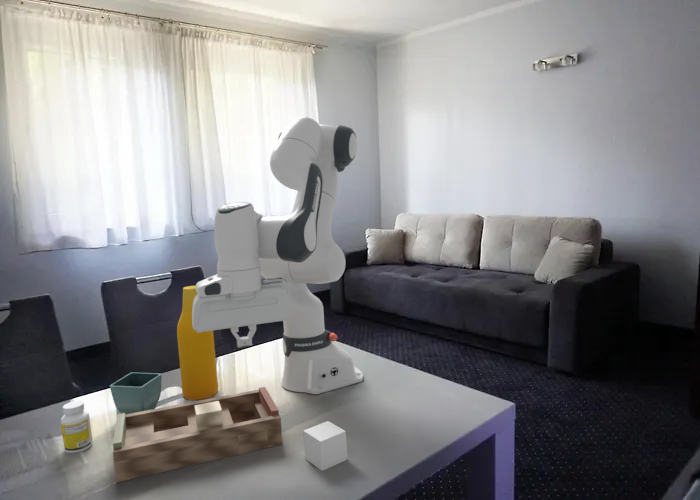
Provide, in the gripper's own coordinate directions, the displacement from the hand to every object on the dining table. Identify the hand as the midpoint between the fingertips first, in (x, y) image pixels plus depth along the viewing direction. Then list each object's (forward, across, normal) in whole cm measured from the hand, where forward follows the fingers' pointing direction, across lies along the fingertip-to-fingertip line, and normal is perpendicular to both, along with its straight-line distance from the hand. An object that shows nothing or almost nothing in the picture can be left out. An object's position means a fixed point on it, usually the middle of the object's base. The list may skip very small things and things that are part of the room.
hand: (244, 346), depth 107 cm
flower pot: (+21, +23, -26) cm, 40 cm away
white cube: (+21, -12, +14) cm, 28 cm away
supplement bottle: (+21, +35, -14) cm, 43 cm away
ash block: (+17, +8, 0) cm, 19 cm away
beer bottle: (+21, +8, -32) cm, 39 cm away
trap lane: (+21, +10, -4) cm, 24 cm away
